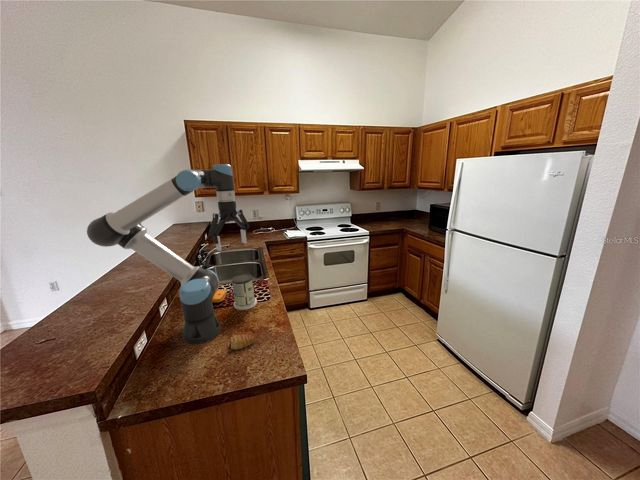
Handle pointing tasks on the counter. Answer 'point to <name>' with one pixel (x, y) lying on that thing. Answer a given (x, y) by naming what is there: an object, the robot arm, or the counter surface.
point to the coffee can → (243, 290)
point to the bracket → (219, 295)
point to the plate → (246, 307)
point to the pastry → (241, 341)
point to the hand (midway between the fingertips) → (232, 246)
